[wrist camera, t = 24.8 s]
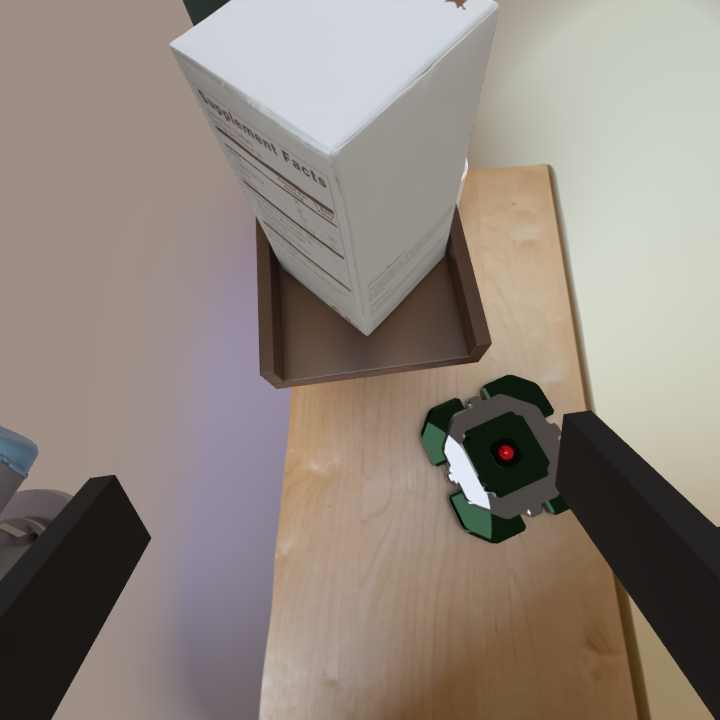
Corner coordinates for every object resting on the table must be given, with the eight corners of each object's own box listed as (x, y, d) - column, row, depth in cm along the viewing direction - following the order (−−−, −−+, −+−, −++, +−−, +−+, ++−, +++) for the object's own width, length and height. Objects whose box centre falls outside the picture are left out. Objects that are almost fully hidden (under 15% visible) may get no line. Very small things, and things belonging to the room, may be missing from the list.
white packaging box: (359, 196, 24) (329, -82, 12) (447, 257, 22) (513, -4, 10) (279, 269, 23) (158, 37, 11) (365, 342, 21) (331, 153, 9)
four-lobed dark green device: (470, 550, 46) (479, 557, 42) (409, 421, 52) (410, 415, 48) (594, 492, 47) (615, 492, 43) (520, 371, 53) (532, 361, 49)
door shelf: (305, 413, 29) (259, 375, 19) (295, 265, 34) (254, 168, 23) (455, 394, 29) (492, 343, 18) (424, 246, 33) (440, 139, 23)
